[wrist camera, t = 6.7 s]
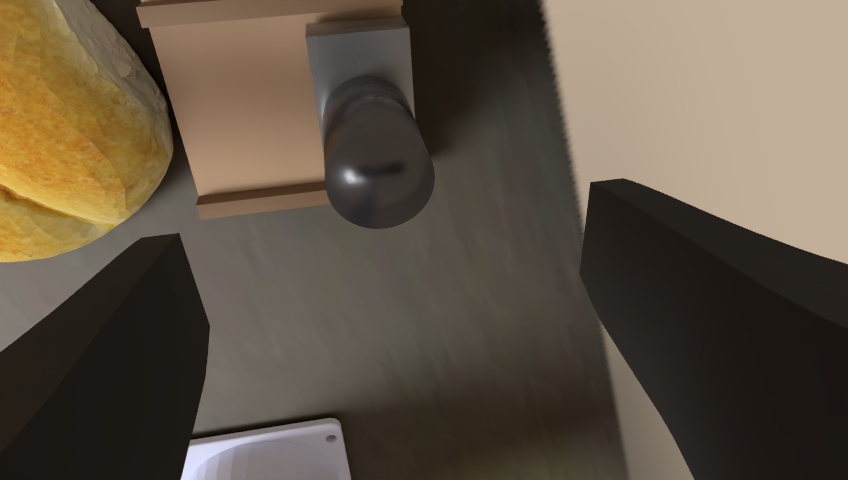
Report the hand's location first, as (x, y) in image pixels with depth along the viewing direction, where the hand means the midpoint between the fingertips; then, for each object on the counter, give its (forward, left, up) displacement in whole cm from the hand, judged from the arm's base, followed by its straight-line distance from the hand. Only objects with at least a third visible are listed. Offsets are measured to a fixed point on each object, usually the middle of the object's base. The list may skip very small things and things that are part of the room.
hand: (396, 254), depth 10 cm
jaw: (0, 0, -8) cm, 8 cm away
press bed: (0, +2, -10) cm, 10 cm away
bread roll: (0, +10, -10) cm, 15 cm away
